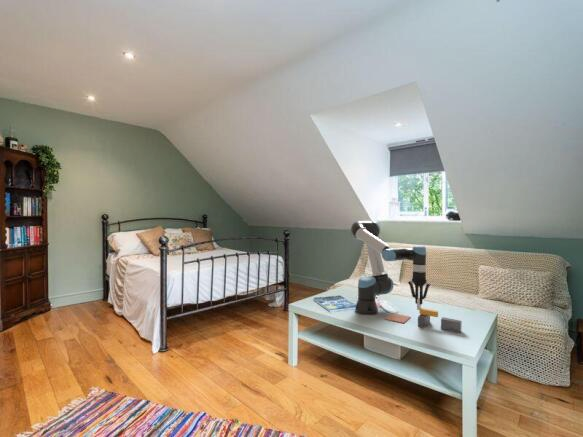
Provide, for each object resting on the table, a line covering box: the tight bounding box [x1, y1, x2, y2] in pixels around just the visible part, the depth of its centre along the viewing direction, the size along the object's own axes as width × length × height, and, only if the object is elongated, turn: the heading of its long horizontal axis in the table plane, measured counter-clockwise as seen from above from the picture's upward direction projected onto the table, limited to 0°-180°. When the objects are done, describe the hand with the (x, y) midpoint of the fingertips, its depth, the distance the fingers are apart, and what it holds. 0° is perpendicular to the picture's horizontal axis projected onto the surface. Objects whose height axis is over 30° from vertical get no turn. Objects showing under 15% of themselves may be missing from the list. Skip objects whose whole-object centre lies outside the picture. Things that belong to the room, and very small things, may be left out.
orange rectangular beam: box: [418, 307, 439, 318], centre depth 186 cm, size 10×3×3 cm, turn 52°
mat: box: [384, 312, 412, 324], centre depth 198 cm, size 12×14×1 cm
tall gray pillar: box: [417, 314, 431, 328], centre depth 188 cm, size 4×12×6 cm, turn 142°
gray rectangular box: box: [440, 316, 463, 334], centre depth 178 cm, size 10×4×6 cm, turn 52°
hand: (418, 309), depth 189 cm, fingers closed
